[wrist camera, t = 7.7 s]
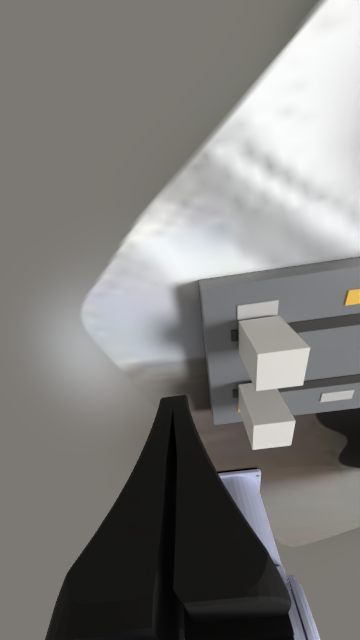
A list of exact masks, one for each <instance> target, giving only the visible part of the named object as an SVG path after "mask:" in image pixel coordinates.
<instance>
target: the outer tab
mask: <svg viewBox="0 0 360 640" xmlns="http://www.w3.org/2000/svg"><path fill="white" fill-rule="evenodd" d="M309 352H310V347H309V346H308V345H307V343H306V342H305V341H304V340H303V339H302V338H301V337H300V336H299V335H298V334H297V333H296V332H295V331H294V330H293V329H292V328H291V327H290V326H289V325H288V324H287V323H286V322H285V321H284V320H283V319H282V318H281V317H280V316H272V317H264V318H257V319H250V320H242V321H239V355H240V357H241V359H242V361H243V363H244V366H245V368H246V370H247V372H248V374H249V377H250V379H251V381H252V383H253V386H254V388H255V390H256V391H261V390H270V389H278V388H286V387H294V386H302V385H303V383H304V378H305V373H306V367H307V362H308V357H309Z"/></svg>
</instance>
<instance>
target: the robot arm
mask: <svg viewBox="0 0 360 640" xmlns="http://www.w3.org/2000/svg"><path fill="white" fill-rule="evenodd" d="M260 480H261V471H260V470H259V469H253V470H244V471H235V472H226V473H217V471H216V469H215V467H214V465H213V464H212V462H211V460H210V458H209V456H208V454H207V452H206V450H205V448H204V446H203V443H202V441H201V439H200V437H199V434H198V432H197V429H196V427H195V424H194V422H193V419H192V416H191V413H190V409H189V404H188V398H187V396H186V395H181V396H173V397H165V398H162V399H161V400H160V404H159V408H158V411H157V414H156V417H155V421H154V423H153V426H152V428H151V431H150V434H149V436H148V439H147V441H146V443H145V446H144V448H143V450H142V452H141V455H140V457H139V459H138V461H137V464H136V465H135V467H134V469H133V472H132V473H131V475H130V477H129V479H128V481H127V482H126V484H125V486H124V488H123V490H122V491H121V493H120V495H119V497H118V498H117V500H116V502H115V503H114V505H113V507H112V508H111V510H110V511H109V513H108V515H107V516H106V518H105V519H104V521H103V522H102V524H101V525H100V527H99V528H98V530H97V532H96V533H95V534H94V536H93V538H92V539H91V540H90V542H89V543H88V545H87V546H86V547H85V549H84V550H83V552H82V553H81V554H80V556H79V557H78V559H77V560H76V561H75V563H74V564H73V566H72V567H71V568H70V570H69V571H68V573H67V575H66V577H65V580H64V582H63V585H62V587H61V590H60V593H59V596H58V598H57V601H56V604H55V608H54V611H53V615H52V618H51V621H50V625H49V628H48V632H47V635H46V639H45V640H320V637H319V634H318V631H317V628H316V625H315V622H314V619H313V616H312V613H311V610H310V608H309V605H308V602H307V599H306V597H305V594H304V591H303V589H302V586H301V584H300V583H299V582H298V581H297V580H296V579H295V578H294V576H293V575H288V579H289V583H290V586H291V589H290V586H289V583H288V580H287V576H286V573H285V570H284V567H283V566H282V564H281V561H280V557H279V554H278V551H277V548H276V544H275V541H274V538H273V534H272V531H271V528H270V525H269V521H268V518H267V515H266V512H265V508H264V505H263V502H262V498H261V495H260ZM291 591H292V592H291Z"/></svg>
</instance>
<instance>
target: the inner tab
mask: <svg viewBox="0 0 360 640" xmlns="http://www.w3.org/2000/svg"><path fill="white" fill-rule="evenodd" d="M238 388H239V410H240V413H241V416H242V419H243V422H244V425H245V428H246V431H247V434H248V437H249V440H250V443H251V446H252V449H253V450H255V449H264V448H272V447H281V446H290V445H291V442H292V437H293V432H294V427H295V419H294V417H293V415H292V414H291V412H290V410H289V408H288V407H287V405H286V403H285V401H284V400H283V398H282V396H281V394H280V393H279V391H278V389H270V390H261V391H256V390H255V388H254V386H253V383H247V384H239V385H238Z"/></svg>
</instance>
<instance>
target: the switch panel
mask: <svg viewBox="0 0 360 640" xmlns="http://www.w3.org/2000/svg"><path fill="white" fill-rule="evenodd" d="M198 284H199V294H200V304H201V314H202V324H203V334H204V344H205V354H206V364H207V374H208V384H209V394H210V404H211V412H212V417H213V422H214V425H218V424H226V423H235V422H243V419H242V416H241V413H240V410H239V388H238V385H239V384H247V383H252V381H251V379H250V377H249V374H248V372H247V370H246V368H245V366H244V363H243V361H242V359H241V357H240V355H239V321H242V320H250V319H257V318H264V317H272V316H280V317H281V318H282V319H283V320H284V321H285V322H286V323H287V324H288V325H289V326H290V327H291V328H292V329H293V330H294V331H295V332H296V333H297V334H298V335H299V336H300V337H301V338H302V339H303V340H304V341H305V342H306V343H307V345H308V346H309V347H310V352H309V357H308V362H307V367H306V373H305V378H304V383H303V385H302V386H294V387H286V388H278V391H279V393H280V394H281V396H282V398H283V400H284V401H285V403H286V405H287V407H288V408H289V410H290V412H291V414H292V415H293V416H294V415H302V414H310V413H319V412H327V411H335V410H343V409H352V408H360V257H357V258H350V259H343V260H336V261H329V262H322V263H315V264H308V265H301V266H294V267H287V268H280V269H273V270H266V271H259V272H252V273H245V274H238V275H231V276H224V277H217V278H210V279H203V280H198Z"/></svg>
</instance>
